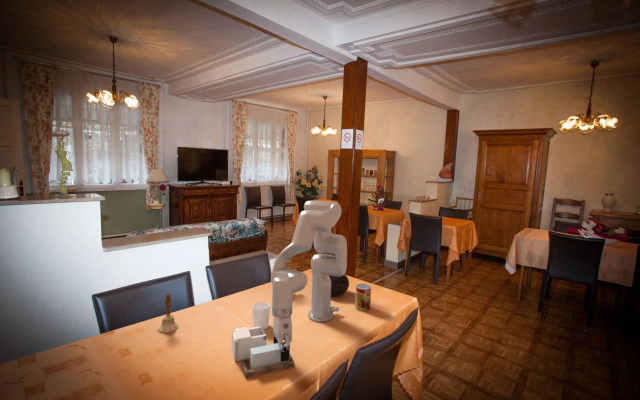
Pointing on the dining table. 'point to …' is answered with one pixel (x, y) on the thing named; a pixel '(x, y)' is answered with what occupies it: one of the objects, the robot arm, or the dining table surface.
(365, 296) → the canned food
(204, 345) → the dining table surface
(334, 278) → the black round vase
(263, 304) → the white cup
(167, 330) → the hand bell
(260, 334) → the dispenser
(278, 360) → the white rectangular block
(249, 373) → the tray
